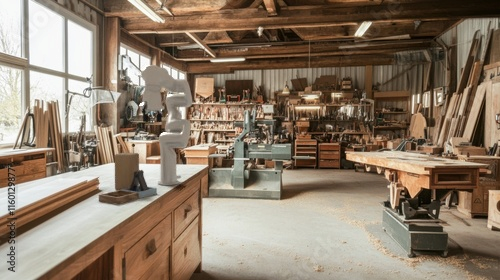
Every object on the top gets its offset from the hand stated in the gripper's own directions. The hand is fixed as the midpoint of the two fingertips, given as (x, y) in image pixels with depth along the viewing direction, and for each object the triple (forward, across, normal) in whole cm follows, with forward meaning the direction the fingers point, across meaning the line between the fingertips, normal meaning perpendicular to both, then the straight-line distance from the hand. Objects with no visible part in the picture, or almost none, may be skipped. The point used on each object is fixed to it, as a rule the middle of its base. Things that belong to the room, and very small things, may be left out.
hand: (152, 121), depth 168 cm
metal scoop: (+38, +14, -14) cm, 43 cm away
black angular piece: (+38, +8, -2) cm, 38 cm away
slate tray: (+38, +7, -3) cm, 39 cm away
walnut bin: (+38, +20, -2) cm, 43 cm away
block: (+38, 0, -19) cm, 42 cm away
